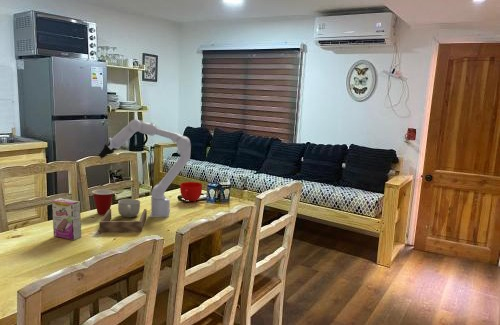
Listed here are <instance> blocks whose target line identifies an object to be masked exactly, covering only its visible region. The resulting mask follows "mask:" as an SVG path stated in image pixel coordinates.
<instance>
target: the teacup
mask: <svg viewBox="0 0 500 325" xmlns="http://www.w3.org/2000/svg"><path fill="white" fill-rule="evenodd" d="M117 202H118V203H117V205H118V208H117V209H118V214H119V215H121V217H123V218H135V217H136V216H137V215H139V213H140V208H141V201H140V200H139V199H137V198H123V199H119V200H118V201H117Z"/></svg>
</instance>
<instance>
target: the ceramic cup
mask: <svg viewBox="0 0 500 325" xmlns="http://www.w3.org/2000/svg"><path fill="white" fill-rule="evenodd" d="M179 188H180V189H179V191H180V195H181V197H182V199H183V200H184V199H185V200H189V201H196V200H197V201H198V200H199V199H200V197H201V195H202V192H203V191H202V190H203V184H202V182H196V181H195V182H194V181H188V182H187V181H186V182H181V183H180V184H179ZM185 200H184V201H185ZM197 201H196V202H197Z"/></svg>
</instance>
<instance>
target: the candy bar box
mask: <svg viewBox="0 0 500 325" xmlns="http://www.w3.org/2000/svg"><path fill="white" fill-rule="evenodd" d="M51 208H52V225H53V226H52V227H53V237H56V238H59V239H65V240H70V241H76V240H78V239H79V238H82V221H81V220H82V218H81V201H80V200H79V201H78V200H73V199H67V198H63V197H59V198H56V199H52V200H51Z"/></svg>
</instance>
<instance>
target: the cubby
mask: <svg viewBox="0 0 500 325" xmlns="http://www.w3.org/2000/svg"><path fill="white" fill-rule="evenodd" d="M147 211H148V209H146V208H144V209H143V212H142V213H141V215H140V218H139V220H112V209H111V208H110V209H108V211H107V212H106V214H105V215H102V218H101V220H99V222H98V223H99V225H98V226H99V233H101V234H102V233H104V234H105V233H106V234H107V233H110V234H111V233H142V232H143V230H144V227H145V225H146V222H147V220H148V219H147V218H148V217H147V213H148V212H147Z"/></svg>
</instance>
